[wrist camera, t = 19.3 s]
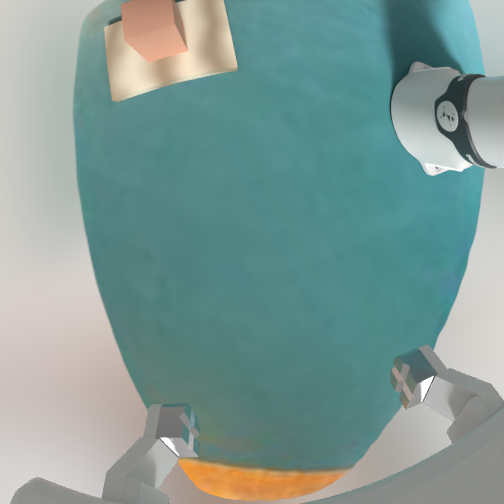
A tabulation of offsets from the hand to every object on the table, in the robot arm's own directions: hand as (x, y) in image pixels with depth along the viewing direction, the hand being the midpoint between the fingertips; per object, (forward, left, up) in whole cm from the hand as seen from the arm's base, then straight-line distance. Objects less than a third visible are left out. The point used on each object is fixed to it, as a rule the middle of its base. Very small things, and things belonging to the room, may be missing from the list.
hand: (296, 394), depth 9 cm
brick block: (+6, -24, -27) cm, 37 cm away
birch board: (+6, -24, -29) cm, 38 cm away
